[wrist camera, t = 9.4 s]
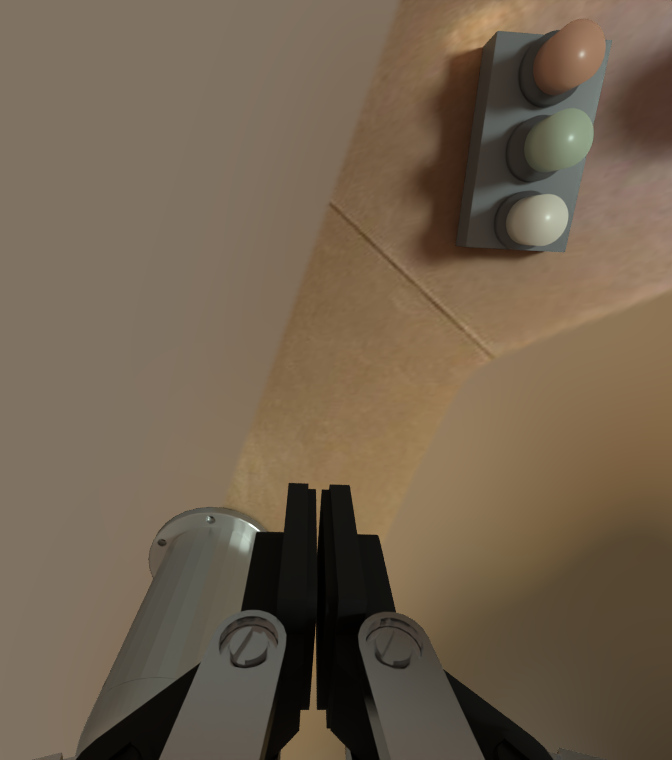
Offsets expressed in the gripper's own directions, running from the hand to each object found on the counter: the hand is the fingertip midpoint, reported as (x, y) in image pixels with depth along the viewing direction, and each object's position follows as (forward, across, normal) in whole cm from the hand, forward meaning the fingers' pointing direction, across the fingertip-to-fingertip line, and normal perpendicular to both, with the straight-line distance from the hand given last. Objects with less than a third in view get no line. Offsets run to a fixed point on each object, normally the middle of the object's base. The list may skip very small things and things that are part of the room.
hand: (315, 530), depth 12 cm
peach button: (+21, -14, -19) cm, 32 cm away
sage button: (+20, -14, -15) cm, 29 cm away
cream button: (+21, -15, -10) cm, 28 cm away
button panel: (+25, -14, -15) cm, 32 cm away
